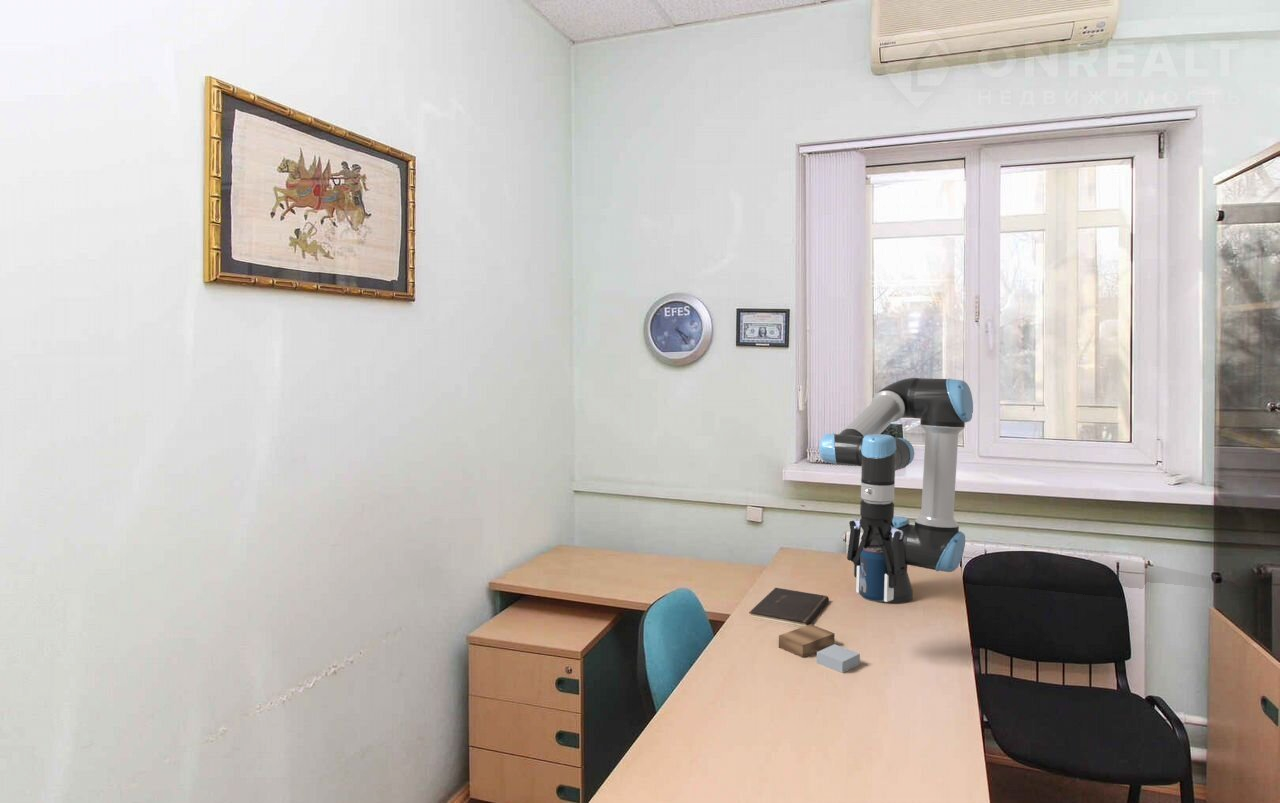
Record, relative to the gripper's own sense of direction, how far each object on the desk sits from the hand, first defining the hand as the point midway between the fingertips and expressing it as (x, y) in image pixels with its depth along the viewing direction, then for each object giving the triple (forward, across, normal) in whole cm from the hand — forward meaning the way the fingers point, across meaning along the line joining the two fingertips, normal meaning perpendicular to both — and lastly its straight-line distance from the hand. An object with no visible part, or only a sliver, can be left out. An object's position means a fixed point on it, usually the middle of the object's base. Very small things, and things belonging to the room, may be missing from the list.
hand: (874, 595), depth 177 cm
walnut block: (+15, -14, -8) cm, 22 cm away
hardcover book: (+16, -33, +8) cm, 37 cm away
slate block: (+15, -3, -10) cm, 18 cm away
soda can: (+1, 0, 0) cm, 1 cm away
